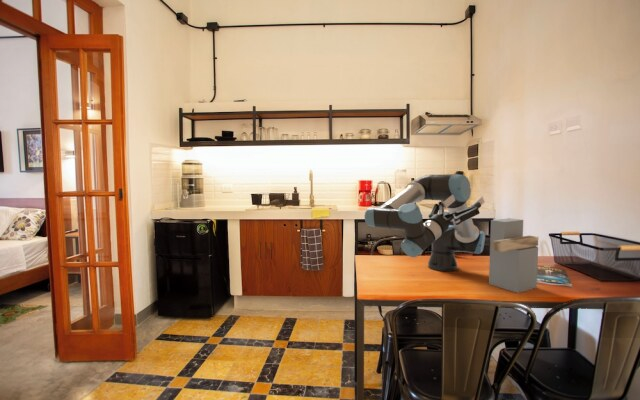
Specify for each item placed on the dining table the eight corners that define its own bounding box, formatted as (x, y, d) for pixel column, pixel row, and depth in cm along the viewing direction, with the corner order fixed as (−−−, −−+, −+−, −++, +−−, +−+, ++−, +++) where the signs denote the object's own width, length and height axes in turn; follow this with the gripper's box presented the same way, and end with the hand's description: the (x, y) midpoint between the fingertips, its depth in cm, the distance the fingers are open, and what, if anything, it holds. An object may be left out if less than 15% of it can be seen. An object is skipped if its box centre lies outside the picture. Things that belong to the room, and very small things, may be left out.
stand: (488, 283, 153) (490, 220, 150) (507, 279, 159) (509, 218, 157) (517, 292, 141) (520, 223, 138) (536, 287, 147) (539, 221, 145)
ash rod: (493, 250, 139) (493, 240, 139) (528, 244, 151) (529, 235, 151) (502, 252, 136) (502, 242, 135) (538, 245, 148) (538, 236, 147)
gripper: (458, 223, 113) (493, 191, 120) (407, 215, 135) (440, 189, 142) (465, 240, 115) (499, 208, 123) (414, 230, 137) (445, 203, 145)
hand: (467, 198), depth 133 cm, fingers open, 13 cm apart
